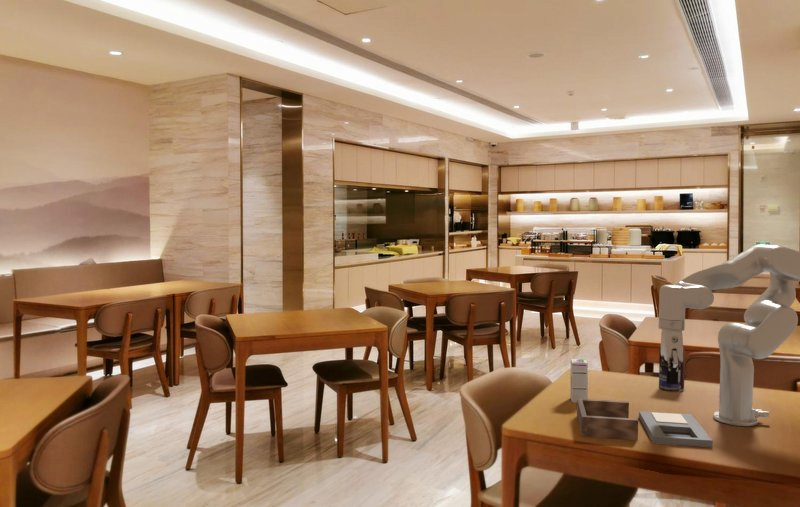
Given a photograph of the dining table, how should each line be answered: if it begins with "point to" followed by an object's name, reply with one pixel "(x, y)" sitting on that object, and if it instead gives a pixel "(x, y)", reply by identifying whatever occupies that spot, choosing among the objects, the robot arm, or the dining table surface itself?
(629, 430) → the box
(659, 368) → the supplement box
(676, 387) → the pill bottle
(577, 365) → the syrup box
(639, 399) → the dining table surface
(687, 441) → the hole deck
